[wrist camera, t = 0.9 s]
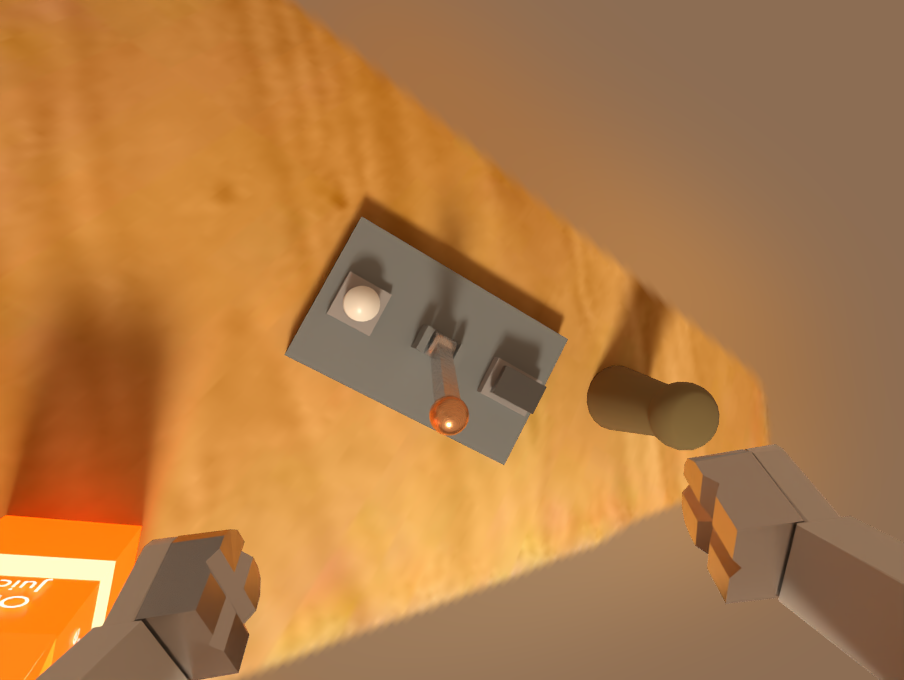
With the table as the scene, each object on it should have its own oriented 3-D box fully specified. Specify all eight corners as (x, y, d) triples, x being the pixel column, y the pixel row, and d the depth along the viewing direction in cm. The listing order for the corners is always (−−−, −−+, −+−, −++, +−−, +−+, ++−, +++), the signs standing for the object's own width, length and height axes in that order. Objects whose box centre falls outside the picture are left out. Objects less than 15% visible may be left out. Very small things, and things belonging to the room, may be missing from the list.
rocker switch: (490, 391, 43) (492, 392, 42) (503, 365, 44) (506, 365, 42) (528, 412, 44) (532, 414, 43) (542, 386, 44) (546, 386, 43)
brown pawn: (618, 351, 50) (702, 362, 40) (655, 397, 52) (746, 419, 41) (574, 397, 49) (648, 420, 39) (613, 443, 51) (695, 477, 40)
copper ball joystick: (418, 347, 43) (422, 432, 32) (434, 323, 43) (443, 400, 31) (444, 361, 44) (456, 449, 32) (460, 337, 43) (478, 419, 31)
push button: (336, 310, 40) (337, 310, 39) (353, 280, 40) (354, 279, 39) (367, 327, 41) (369, 327, 40) (383, 297, 41) (386, 296, 40)
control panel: (285, 353, 42) (283, 357, 39) (359, 220, 43) (364, 211, 40) (496, 458, 48) (513, 471, 44) (557, 338, 49) (579, 340, 45)
